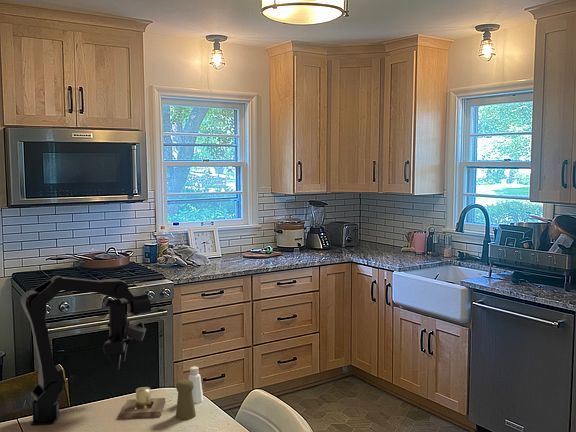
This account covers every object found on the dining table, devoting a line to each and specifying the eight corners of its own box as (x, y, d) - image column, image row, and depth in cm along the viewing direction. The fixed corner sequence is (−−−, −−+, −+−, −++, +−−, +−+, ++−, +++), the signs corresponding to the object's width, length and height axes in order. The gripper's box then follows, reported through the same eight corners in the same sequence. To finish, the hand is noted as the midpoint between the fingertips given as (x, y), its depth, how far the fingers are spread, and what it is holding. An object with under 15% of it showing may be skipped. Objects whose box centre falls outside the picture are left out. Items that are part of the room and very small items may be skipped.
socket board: (120, 418, 174) (120, 413, 174) (127, 404, 185) (127, 399, 185) (160, 416, 175) (160, 411, 175) (165, 402, 186) (165, 397, 186)
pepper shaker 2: (183, 402, 186) (182, 368, 185) (193, 396, 191) (192, 363, 190) (196, 405, 183) (195, 371, 183) (206, 399, 188) (206, 366, 188)
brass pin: (135, 412, 177) (134, 392, 177) (137, 407, 182) (137, 387, 181) (149, 412, 178) (149, 391, 177) (151, 406, 182) (151, 386, 182)
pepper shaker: (191, 420, 171) (190, 384, 171) (172, 419, 173) (171, 383, 172) (198, 412, 177) (197, 377, 177) (180, 411, 179) (179, 376, 178)
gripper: (138, 324, 177) (140, 374, 178) (148, 310, 195) (149, 355, 196) (101, 325, 176) (103, 375, 177) (114, 312, 194) (116, 357, 195)
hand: (119, 365), depth 186 cm, fingers open, 9 cm apart
